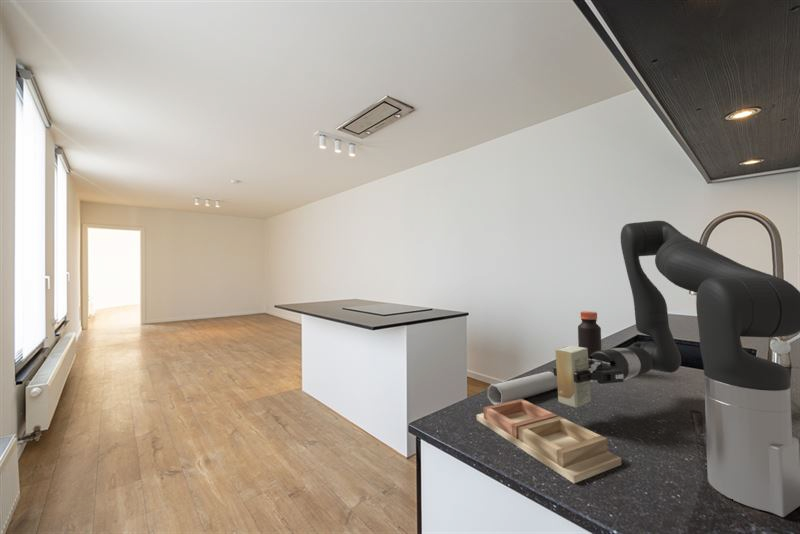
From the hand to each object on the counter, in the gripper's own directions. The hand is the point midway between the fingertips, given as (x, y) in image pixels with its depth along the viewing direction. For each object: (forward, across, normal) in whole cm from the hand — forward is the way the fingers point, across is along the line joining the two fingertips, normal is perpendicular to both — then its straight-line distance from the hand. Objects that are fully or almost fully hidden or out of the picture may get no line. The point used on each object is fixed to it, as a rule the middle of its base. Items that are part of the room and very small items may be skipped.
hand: (564, 374), depth 74 cm
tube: (-6, -15, +10) cm, 19 cm away
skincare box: (-3, 0, +7) cm, 7 cm away
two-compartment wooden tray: (+10, +2, +11) cm, 15 cm away
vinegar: (-41, -24, +11) cm, 49 cm away
